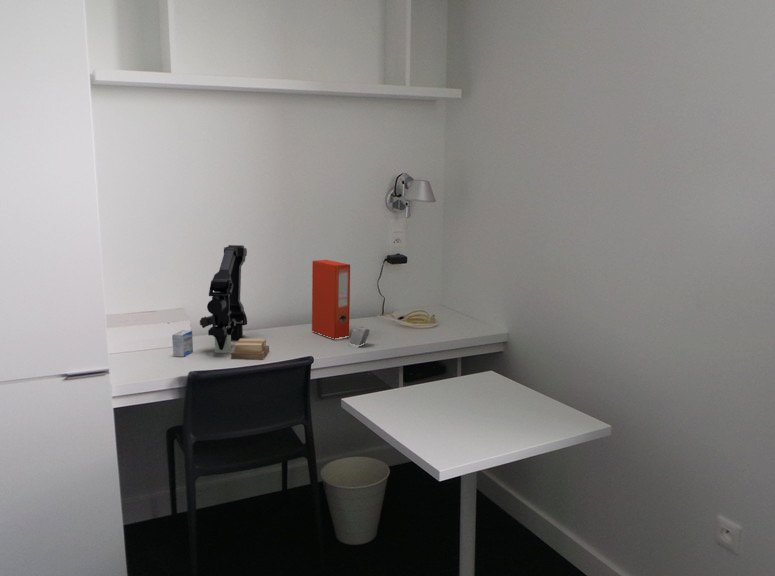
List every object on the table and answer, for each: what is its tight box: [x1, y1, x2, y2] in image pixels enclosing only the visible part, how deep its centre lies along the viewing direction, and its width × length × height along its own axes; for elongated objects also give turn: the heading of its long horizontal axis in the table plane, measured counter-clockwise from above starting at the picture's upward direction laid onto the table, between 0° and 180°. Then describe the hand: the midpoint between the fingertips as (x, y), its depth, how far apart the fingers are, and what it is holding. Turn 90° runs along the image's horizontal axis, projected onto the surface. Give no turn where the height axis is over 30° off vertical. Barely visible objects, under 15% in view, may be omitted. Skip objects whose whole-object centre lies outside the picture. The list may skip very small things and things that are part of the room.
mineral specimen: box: [348, 326, 371, 345], centre depth 283 cm, size 7×9×8 cm
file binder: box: [311, 259, 351, 339], centre depth 297 cm, size 8×17×32 cm, turn 39°
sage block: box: [214, 335, 232, 354], centre depth 271 cm, size 5×5×6 cm
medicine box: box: [171, 329, 194, 358], centre depth 266 cm, size 8×4×9 cm, turn 168°
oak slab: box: [234, 337, 267, 353], centre depth 266 cm, size 10×10×3 cm
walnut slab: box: [230, 345, 270, 361], centre depth 266 cm, size 12×12×3 cm
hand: (223, 347), depth 272 cm, fingers open, 5 cm apart
